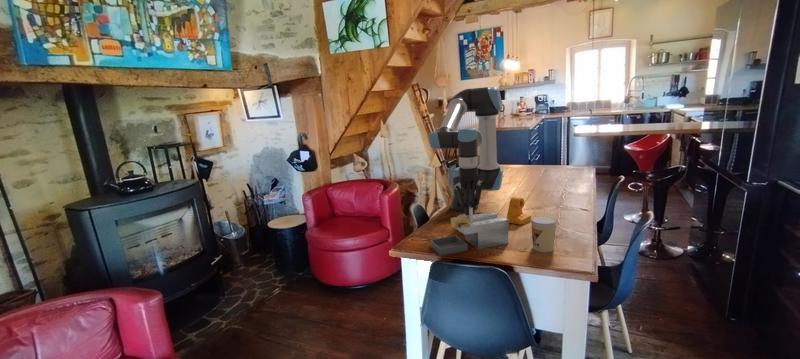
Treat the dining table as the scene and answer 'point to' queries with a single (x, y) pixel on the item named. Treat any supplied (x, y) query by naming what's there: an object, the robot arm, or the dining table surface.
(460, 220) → the chip
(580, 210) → the dining table surface
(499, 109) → the robot arm
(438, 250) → the tray
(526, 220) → the bracket
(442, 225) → the dining table surface
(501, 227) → the rail block
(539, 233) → the coffee cup
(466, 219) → the tan cube
